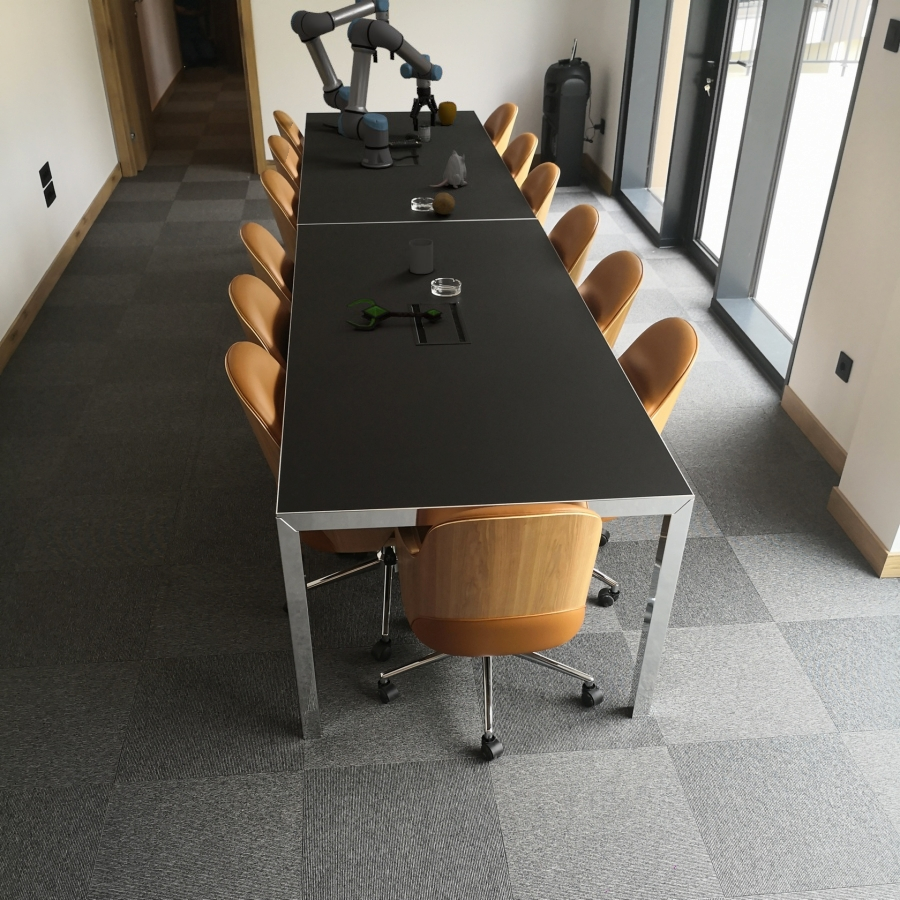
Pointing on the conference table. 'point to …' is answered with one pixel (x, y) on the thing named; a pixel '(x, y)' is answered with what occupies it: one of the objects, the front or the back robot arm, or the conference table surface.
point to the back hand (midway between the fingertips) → (383, 61)
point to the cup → (421, 256)
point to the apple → (447, 112)
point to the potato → (443, 203)
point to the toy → (454, 171)
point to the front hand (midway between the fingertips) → (424, 128)
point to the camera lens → (424, 133)
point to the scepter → (389, 314)
